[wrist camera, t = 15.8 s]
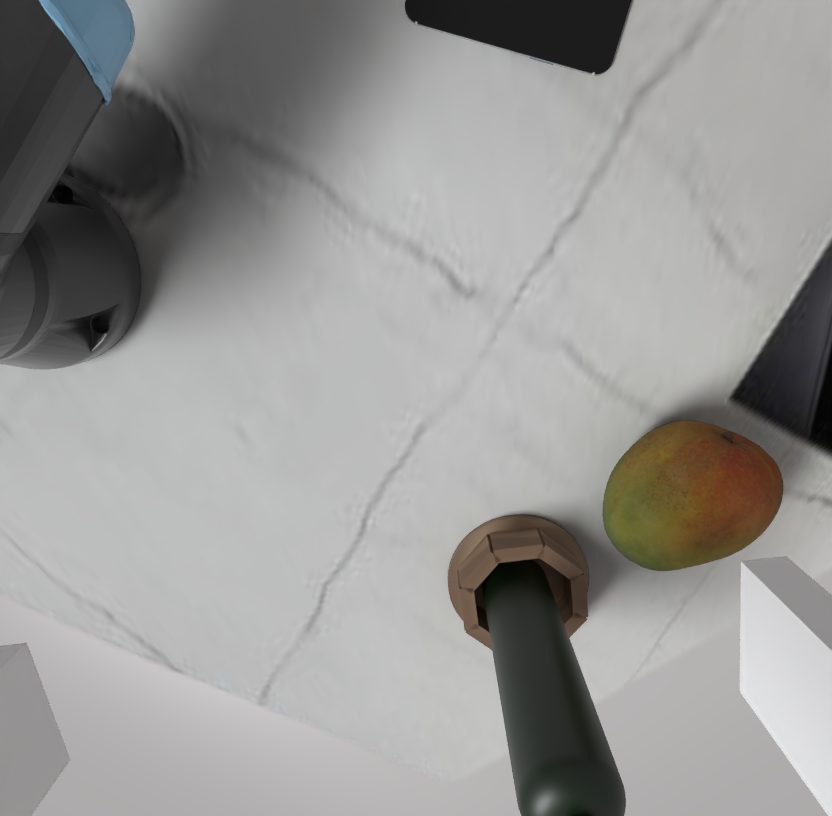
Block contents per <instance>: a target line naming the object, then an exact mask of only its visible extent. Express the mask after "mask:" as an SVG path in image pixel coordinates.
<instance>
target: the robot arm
mask: <svg viewBox="0 0 832 816" xmlns="http://www.w3.org/2000/svg"><path fill="white" fill-rule="evenodd" d="M134 36H135V28H134V21H133V17H132V13H131V11H130V9H129V7H128V5H127V3H126V1H125V0H0V364H4V365H11V366H17V367H23V368H30V369H57V368H63V367H68V366H72V365H75V364H78V363H81V362H84V361H87V360H90V359H93V358H95V357H97V356H99V355H101V354H103V353H104V352H106V351H107V350H109V349H110V348H111V347H112V346H114V345H115V344H116V343H117V342H118V341H119V340H120V338H121V337H122V336H123V335H124V334H125V332H126V331H127V329H128V328H129V326H130V324H131V322H132V320H133V318H134V315H135V313H136V310H137V306H138V302H139V296H140V268H139V262H138V258H137V254H136V251H135V247H134V245H133V242H132V240H131V237H130V235H129V233H128V231H127V229H126V227H125V226H124V224H123V222H122V221H121V219H120V218H119V216H118V215H117V214H116V212H115V211H114V210H113V209H112V207H111V206H110V205H109V204H108V203H107V202H106V201H105V200H104V199H103V198H102V197H101V196H100V195H99V194H98V193H96V192H95V191H94V190H93V189H91V188H90V187H89V186H87V185H86V184H84V183H82V182H81V181H79V180H77V179H75V178H74V177H72V176H69V175H67V174H65V173H63V172H64V171H65V169H66V167H67V165H68V164H69V162H70V160H71V158H72V156H73V155H74V153H75V151H76V149H77V148H78V146H79V144H80V142H81V141H82V139H83V137H84V135H85V134H86V132H87V130H88V128H89V127H90V125H91V123H92V121H93V120H94V118H95V116H96V114H97V113H98V111H99V109H100V107H101V106H102V104H103V105H105V106H107V105H108V104H109V102H110V101H111V98H112V93H111V88H112V86H113V84H114V82H115V80H116V78H117V76H118V74H119V72H120V70H121V68H122V66H123V64H124V62H125V60H126V58H127V56H128V54H129V52H130V50H131V48H132V46H133V42H134ZM740 628H741V629H740V692H741V694H742V695H743V696H744V698H745V699H746V701H747V702H748V703H749V705H750V706H751V708H752V709H753V710H754V712H755V713H756V714H757V716H758V718H759V719H760V720H761V722H762V723H763V725H764V726H765V727H766V729H767V730H768V731H769V733H770V734H771V736H772V737H773V739H774V740H775V741H776V743H777V744H778V746H779V747H780V748H781V750H782V751H783V753H784V754H785V755H786V757H787V758H788V760H789V761H790V762H791V764H792V765H793V767H794V768H795V769H796V771H797V772H798V774H799V775H800V777H801V778H802V779H803V781H804V782H805V784H806V785H807V786H808V788H809V789H810V791H811V792H812V793H813V795H814V796H815V797H816V799H817V800H818V802H819V803H820V804H821V806H822V807H823V808H824V810H825V812H826V813H827V814H828V816H832V595H831V594H830V593H828V592H827V591H826V590H825V589H824V588H823V587H821V586H820V585H819V584H818V583H817V582H816V581H814V580H813V579H812V578H811V577H810V576H808V575H807V574H806V573H805V572H804V571H803V570H801V569H800V568H799V567H798V566H797V565H796V564H794V563H793V562H792V561H791V560H790V559H788V558H787V557H786V556H783V557H775V558H766V559H757V560H748V561H741V618H740ZM69 761H70V757H69V755H68V752H67V749H66V747H65V744H64V741H63V739H62V736H61V733H60V731H59V728H58V725H57V723H56V720H55V717H54V715H53V712H52V709H51V707H50V705H49V701H48V698H47V696H46V693H45V690H44V688H43V685H42V682H41V680H40V677H39V674H38V672H37V669H36V666H35V664H34V661H33V658H32V656H31V653H30V650H29V648H28V646H27V643H21V644H12V645H3V646H0V816H31V815H32V814H33V812H34V811H35V810H36V808H37V807H38V805H39V804H40V802H41V801H42V800H43V798H44V797H45V795H46V794H47V792H48V791H49V790H50V788H51V787H52V785H53V784H54V782H55V781H56V779H57V778H58V777H59V775H60V774H61V772H62V771H63V769H64V768H65V767H66V765H67V764H68V762H69Z"/></svg>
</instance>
